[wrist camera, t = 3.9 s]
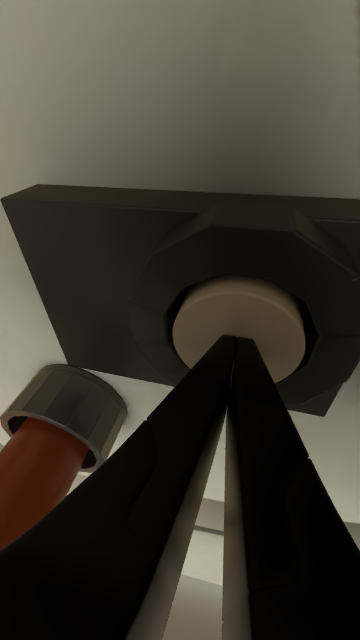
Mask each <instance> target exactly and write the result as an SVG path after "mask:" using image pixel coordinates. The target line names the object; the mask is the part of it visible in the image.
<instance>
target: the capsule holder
mask: <svg viewBox="0 0 360 640" xmlns="http://www.w3.org/2000/svg"><path fill="white" fill-rule="evenodd" d="M27 416H28V417H32V418H36V419H40V420H43V421H46V422H48V423H51V424H53V425H55V426H57V427H59V428H62V429H64V430H65V431H67V432H69V433H70V434H72V435H73V436H75V437H76V438H78V439H79V440H81V441H82V442H83V443H84V444H85V445H86V446H87V447H88V448H90V451H89V452H88V454H87V456H86V458H85V460H84V462H83V464H82V466H81V468H80V470H79V471H80V472H89V473H91V472H94V471H95V470H96V469H97V468H98V467H100V466H101V465H102V464H103V463H104V462H105V461H106V460H107V457H108V455H109V453H110V451H111V449H112V446H113V444H114V442H115V440H116V438H117V435H118V433H119V431H120V429H121V427H122V424H123V422H124V420H125V417H126V407H125V404H124V402H123V400H122V399H121V398H120V396H119V395H118V394H117V393H116V391H114V390H113V389H112V388H111V387H110V386H109V385H108V384H106V383H105V382H104V381H102V380H101V379H99V378H97V377H96V376H94V375H92V374H90V373H88V372H86V371H83V370H81V369H78V368H75V367H71V366H66V365H49V366H46V367H44V368H42V369H41V370H40V371H39V372H38V373H37V374H36V375H35V376H34V377H33V378H32V379H31V381H30V382H29V383H28V384H27V385H26V386H25V388H24V389H23V390H22V391H21V392H20V393H19V395H18V396H17V397H16V398H15V399H14V401H13V402H12V403H11V404H10V405H9V406H8V408H7V409H6V410H5V411H4V412H3V414H2V415H1V416H0V421H1V426H2V427H3V429H4V430H5V431H6V432H7V434H8V435H9V436H10V437H12V436H13V435H14V433H15V432H16V431H17V429H18V428H19V427H20V425H21V424H22V423H23V421H24V420H25V419H26V418H27Z"/></svg>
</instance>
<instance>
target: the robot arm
mask: <svg viewBox="0 0 360 640" xmlns="http://www.w3.org/2000/svg"><path fill="white" fill-rule="evenodd" d="M236 344H237V346H236ZM235 351H236V352H235ZM234 358H235V359H234ZM233 365H234V366H233ZM232 371H233V373H232ZM231 378H232V379H231ZM230 385H231V386H230ZM229 391H230V393H229ZM228 398H229V400H228ZM227 405H228V406H227ZM226 411H227V416H226ZM225 416H226V454H225V506H224V508H225V509H224V510H225V511H224V555H223V606H222V610H223V611H222V621H223V623H222V640H360V550H359V549H358V547H357V545H356V544H355V542H354V540H353V538H352V537H351V535H350V533H349V532H348V529H347V528H346V526H345V524H344V522H343V521H342V519H341V517H340V515H339V514H338V512H337V510H336V508H335V506H334V505H333V503H332V501H331V499H330V497H329V495H328V493H327V491H326V489H325V487H324V485H323V483H322V481H321V479H320V477H319V475H318V473H317V471H316V469H315V467H314V464H313V462H312V460H311V459H309V458H308V457H309V454H308V452H307V450H306V448H305V446H304V444H303V442H302V440H301V438H300V435H299V433H298V431H297V429H296V427H295V425H294V423H293V421H292V419H291V417H290V415H289V412H288V410H287V408H286V406H285V404H284V402H283V400H282V398H281V396H280V394H279V391H278V389H277V387H276V385H275V383H274V381H273V379H272V377H271V375H270V373H269V371H268V368H267V366H266V364H265V362H264V360H263V358H262V356H261V354H260V352H259V350H258V347H257V345H256V343H255V341H254V340H253V339H251V338H244V337H239V338H238V339H237V337H236V336H232V335H225V334H223V335H221V336H220V337H219V339H218V340H217V341H216V342H215V343H214V344H213V345H212V346H211V347H210V349H209V350H208V351H207V352H206V353H205V354H204V355H203V356H202V357H201V359H200V360H199V361H198V362H197V363H196V364H195V365H194V366H193V367H192V369H191V370H190V371H189V372H188V373H187V374H186V375H185V376H184V377H183V379H182V380H181V381H180V382H179V383H178V384H177V385H176V386H175V387H174V389H173V390H172V391H171V392H170V393H169V394H168V395H167V396H166V397H165V399H164V400H163V401H162V402H161V403H160V404H159V405H158V406H157V407H156V409H155V410H154V411H153V412H152V413H151V414H150V415H149V416H148V418H147V420H145V421H144V422H143V423H142V424H141V425H140V426H139V427H138V428H137V430H136V431H135V432H134V433H133V434H132V435H131V436H130V437H129V438H128V439H127V440H126V441H125V442H124V443H123V444H122V445H121V446H120V447H119V449H118V450H117V451H116V452H114V453H113V454H112V455H111V456H110V457H109V458H108V459H107V460H106V461H105V462H104V463H103V464H102V465H101V466H100V467H98V468H97V469H96V470H95V471H94V472H93V473H92V474H91V475H90V476H89V477H87V478H86V479H85V480H84V481H83V482H82V483H81V484H80V485H79V486H77V488H75V489H74V490H73V491H72V492H71V493H70V494H68V495H67V496H66V497H65V498H64V499H63V500H62V501H61V502H59V503H58V504H57V505H56V506H55V507H54V508H53V509H52V510H50V511H49V512H48V513H47V514H46V515H45V516H44V517H43V518H42V519H40V520H39V521H38V522H37V523H36V524H35V525H33V526H32V527H31V528H30V529H29V530H27V531H26V532H25V533H23V534H22V535H21V536H20V537H18V538H17V539H16V540H14V541H13V542H11V543H10V544H8V545H7V546H5V547H4V548H2V549H1V550H0V640H162V638H163V635H164V631H165V627H166V624H167V621H168V617H169V613H170V610H171V607H172V603H171V602H173V599H174V596H175V592H176V589H177V585H178V582H179V578H180V575H181V571H182V568H183V564H184V561H185V557H186V554H187V550H188V547H189V543H190V540H191V536H192V533H193V529H194V526H195V521H196V518H197V515H198V511H199V508H200V504H201V501H202V497H203V494H204V490H205V487H206V483H207V480H208V476H209V473H210V469H211V466H212V462H213V459H214V455H215V452H216V448H217V445H218V441H219V438H220V434H221V431H222V427H223V424H224V420H225Z"/></svg>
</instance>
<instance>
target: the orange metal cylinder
mask: <svg viewBox="0 0 360 640" xmlns="http://www.w3.org/2000/svg"><path fill="white" fill-rule="evenodd" d="M89 451H90V448H88V447H87V446H86V445H85V444H84V443H83V442H82V441H81V440H79V439H78V438H76V437H75V436H73V435H72V434H70V433H69V432H67V431H65V430H64V429H62V428H59V427H57V426H55V425H53V424H51V423H48V422H46V421H43V420H40V419H36V418H32V417H28V416H27V418H26V419H25V420H24V421H23V423H22V424H21V425H20V427H19V428H18V429H17V431H16V432H15V433H14V435H13V436H12V437H11V439H10V440H9V441H8V442H7V444H6V445H5V446H4V448H3V449H2V450H1V452H0V550H1V549H2V548H4V547H5V546H7V545H8V544H10V543H11V542H13V541H14V540H16V539H17V538H18V537H20V536H21V535H22V534H23V533H25V532H26V531H27V530H29V529H30V528H31V527H32V526H33V525H35V524H36V523H37V522H38V521H39V520H40V519H42V518H43V517H44V516H45V515H46V514H47V513H48V512H49V511H50V510H52V509H53V508H54V507H55V506H56V505H57V504H58V503H59V502H61V501H62V500H63V499H64V498H65V497H66V495H67V493H68V491H69V489H70V487H71V485H72V483H73V482H74V480H75V478H76V476H77V474H78V472H79V470H80V468H81V466H82V464H83V462H84V460H85V458H86V456H87V454H88V452H89Z"/></svg>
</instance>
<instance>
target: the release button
mask: <svg viewBox="0 0 360 640" xmlns="http://www.w3.org/2000/svg"><path fill="white" fill-rule="evenodd" d="M223 334H225V335H232V336H236V337H237V339H238V338H239V337H244V338H251V339H253V340H254V341H255V343H256V345H257V347H258V350H259V352H260V354H261V356H262V358H263V360H264V362H265V364H266V366H267V368H268V371H269V373H270V375H271V377H272V379H273V381H274V383H276V382H279V381H281V380H282V379H284V378H286V377H287V376H289V375H290V374H291V373H292V372H293V371H294V370H295V369H296V368H297V367H298V365H299V364H300V362H301V360H302V358H303V356H304V352H305V344H306V343H305V335H304V327H303V319H302V311H301V304H300V299H299V297H297V296H296V295H294V294H293V293H291V292H290V291H288V290H287V289H285V288H284V287H282V286H281V285H279V284H278V283H276V282H275V281H273V280H272V279H270V278H261V277H252V276H243V275H234V274H225V273H221V274H219V275H216V276H213V277H211V278H208V279H206V280H203V281H201V282H198V283H195V284H193V285H191V286H190V287H189V290H188V292H187V294H186V297H185V299H184V301H183V304H182V306H181V308H180V310H179V313H178V315H177V317H176V320H175V322H174V326H173V341H174V345H175V348H176V351H177V353H178V355H179V356H180V358H181V359H182V360H183V362H184V363H185V364H186V365H187V366H188V367H189V368H190V369H192V367H193V366H194V365H195V364H196V363H197V362H198V361H199V360H200V359H201V357H202V356H203V355H204V354H205V353H206V352H207V351H208V350H209V349H210V347H211V346H212V345H213V344H214V343H215V342H216V341H217V340H218V339H219V337H220V336H221V335H223ZM236 346H237V344H236ZM235 352H236V351H235ZM234 359H235V358H234ZM233 366H234V365H233ZM232 373H233V371H232ZM231 379H232V378H231ZM230 386H231V385H230Z"/></svg>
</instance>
